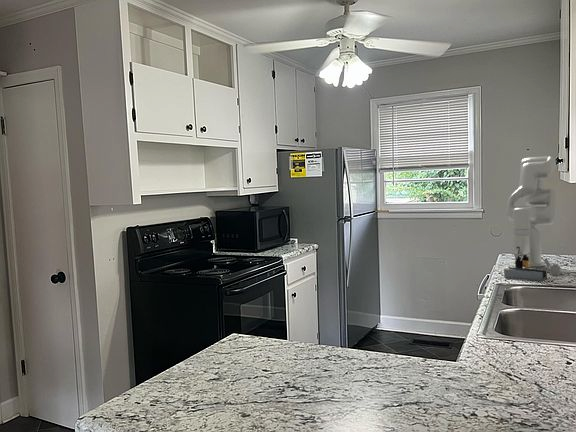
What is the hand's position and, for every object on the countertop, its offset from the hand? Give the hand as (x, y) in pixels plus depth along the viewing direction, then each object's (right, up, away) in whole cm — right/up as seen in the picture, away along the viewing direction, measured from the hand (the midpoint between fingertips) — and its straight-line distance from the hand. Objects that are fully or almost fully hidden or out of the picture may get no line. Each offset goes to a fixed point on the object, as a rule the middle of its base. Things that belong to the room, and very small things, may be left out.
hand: (522, 266), depth 244 cm
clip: (0, -3, 0) cm, 3 cm away
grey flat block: (-4, -4, -12) cm, 14 cm away
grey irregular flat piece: (+11, -3, -8) cm, 14 cm away
